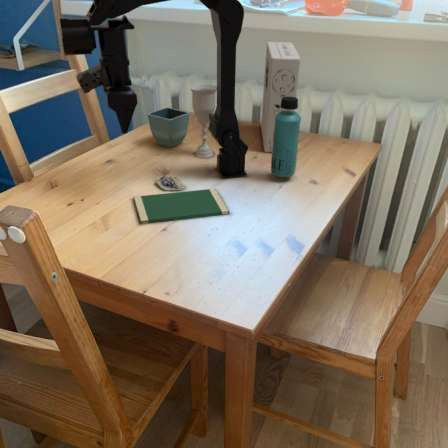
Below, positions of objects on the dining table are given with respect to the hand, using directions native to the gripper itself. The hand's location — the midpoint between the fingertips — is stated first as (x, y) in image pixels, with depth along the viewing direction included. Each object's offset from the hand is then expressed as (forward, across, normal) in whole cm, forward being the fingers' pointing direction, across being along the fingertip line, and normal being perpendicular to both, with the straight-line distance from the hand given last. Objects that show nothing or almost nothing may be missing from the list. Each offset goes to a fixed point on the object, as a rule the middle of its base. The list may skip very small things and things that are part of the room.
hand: (122, 126), depth 113 cm
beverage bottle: (+15, +6, +39) cm, 42 cm away
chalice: (+14, -14, +23) cm, 31 cm away
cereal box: (+15, -22, +47) cm, 54 cm away
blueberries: (+14, +4, +10) cm, 18 cm away
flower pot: (+14, -24, +15) cm, 32 cm away
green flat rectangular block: (+14, +16, +10) cm, 23 cm away
